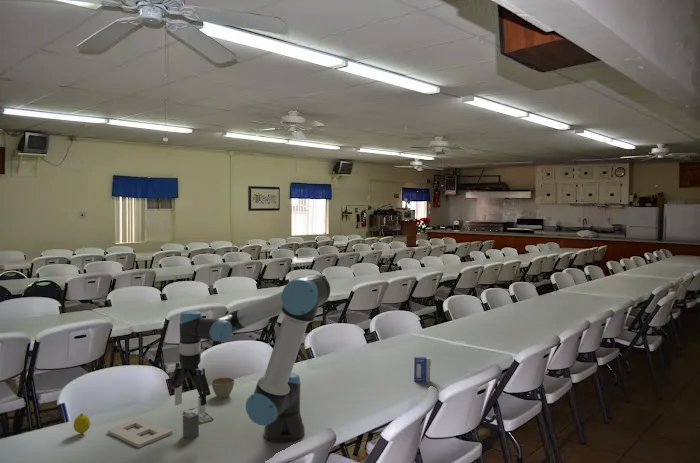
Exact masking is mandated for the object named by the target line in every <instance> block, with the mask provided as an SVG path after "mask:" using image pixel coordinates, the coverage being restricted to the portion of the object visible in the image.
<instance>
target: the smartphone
mask: <svg viewBox="0 0 700 463" xmlns="http://www.w3.org/2000/svg"><path fill="white" fill-rule="evenodd" d="M190 412H193V413H196V414H198V406H197V407H193V408H189V409H185V410H183V415H185V414H188V413H190ZM198 415H199V414H198ZM213 421H214V418H213V417H212V416H210V414H208V413H207V412H206V411H205V413H203V414H200V415H199V425H203V424H206V423H210V422H213Z"/></svg>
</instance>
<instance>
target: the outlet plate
mask: <svg viewBox="0 0 700 463" xmlns="http://www.w3.org/2000/svg"><path fill="white" fill-rule="evenodd" d="M133 427H137V429H135V430H132V431H130V430H129V429H132V428H133ZM148 433H150V434H152V435H149V436H147V437H143V435H145V434H148ZM107 434H109V435H111V436H113V437H115V438H117V439H119V440H121V441H124V442H125V443H127V444H130V445H131V446H134V447H135V448H143V447H144V446H146V445H149V444H151V443H154V442H156V441H159V440H161V439H164V438H166V437H169V436H170V435H173V430H172V429H169V428H168V427H164V426H162V425H159V424H158V423H154V422H152V421H151V420H148V419H145V418H143V417H139V418H137V419H134V420H131V421H128V422H126V423H123V424H120V425H118V426H114V427H112V428H109V429H107Z"/></svg>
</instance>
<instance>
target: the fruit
mask: <svg viewBox="0 0 700 463" xmlns="http://www.w3.org/2000/svg"><path fill="white" fill-rule="evenodd" d="M90 426H91V419H90V418H89V416H88V415H86V414H84V413H82V412H81V413H80V415H78V416H77V417H75V419H74V422H73V429H74V430H75V432H77V433H78V434H80V435H84V434H85V433H86V432H87V431H88V430H89V428H90Z"/></svg>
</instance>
